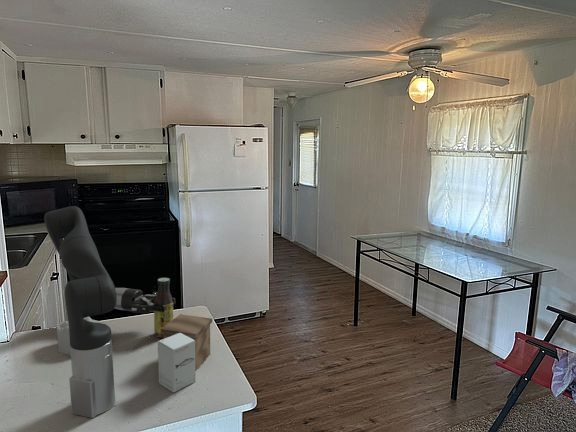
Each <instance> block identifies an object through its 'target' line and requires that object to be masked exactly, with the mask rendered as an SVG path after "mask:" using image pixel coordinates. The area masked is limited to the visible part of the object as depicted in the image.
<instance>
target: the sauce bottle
mask: <svg viewBox="0 0 576 432" xmlns="http://www.w3.org/2000/svg"><path fill="white" fill-rule="evenodd" d="M170 283H171V279H170V278H169V277H159V278H158V279H157V292H158V294H157V295H156V297H155V304H159V305H165V311H164V312H158V311H153V312H154V315H153V318H154V319H153V320H154V322H153V323H154V325H153V326H154V327H153V329H154V336H155V337H156V338H162V339H164V333H161V329H162V328H163V327H164V326H166V325H167V324H168V323H170V322H171V321H172V320H173V319H174V305H173V300H172V298H173V297H172V294H171V291H170Z"/></svg>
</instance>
